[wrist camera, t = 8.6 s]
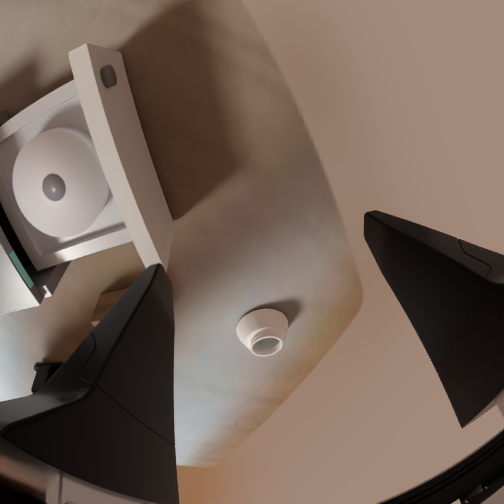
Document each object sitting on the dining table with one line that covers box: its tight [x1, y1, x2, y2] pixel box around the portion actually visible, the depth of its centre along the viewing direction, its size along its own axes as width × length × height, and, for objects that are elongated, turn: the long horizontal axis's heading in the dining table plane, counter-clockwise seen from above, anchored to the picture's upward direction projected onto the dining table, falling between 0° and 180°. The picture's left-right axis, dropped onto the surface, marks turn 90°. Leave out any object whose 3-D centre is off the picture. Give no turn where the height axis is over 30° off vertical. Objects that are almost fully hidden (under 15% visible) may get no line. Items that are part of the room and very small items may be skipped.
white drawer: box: [0, 43, 175, 273], centre depth 14 cm, size 13×12×6 cm
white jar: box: [236, 308, 288, 356], centre depth 27 cm, size 5×3×5 cm
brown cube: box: [91, 287, 129, 327], centre depth 23 cm, size 4×4×4 cm
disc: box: [13, 126, 111, 238], centre depth 14 cm, size 7×7×2 cm
